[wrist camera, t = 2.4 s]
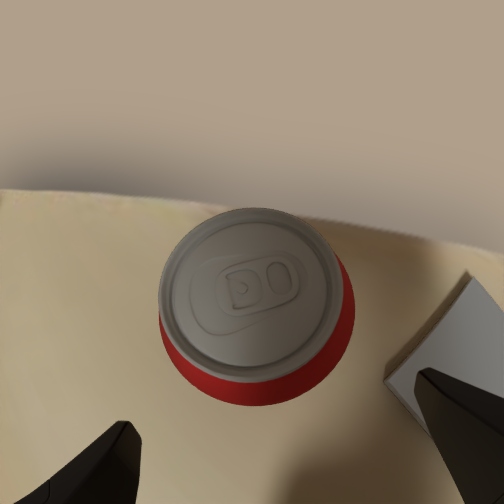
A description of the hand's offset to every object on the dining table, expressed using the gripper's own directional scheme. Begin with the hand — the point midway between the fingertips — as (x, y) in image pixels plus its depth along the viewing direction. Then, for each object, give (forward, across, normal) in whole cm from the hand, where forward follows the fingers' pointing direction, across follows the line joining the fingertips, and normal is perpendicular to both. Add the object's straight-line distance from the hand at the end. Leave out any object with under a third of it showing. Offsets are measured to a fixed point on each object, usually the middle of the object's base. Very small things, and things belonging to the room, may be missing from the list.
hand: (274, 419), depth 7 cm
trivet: (+6, -14, +9) cm, 18 cm away
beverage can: (+10, 0, +5) cm, 12 cm away
